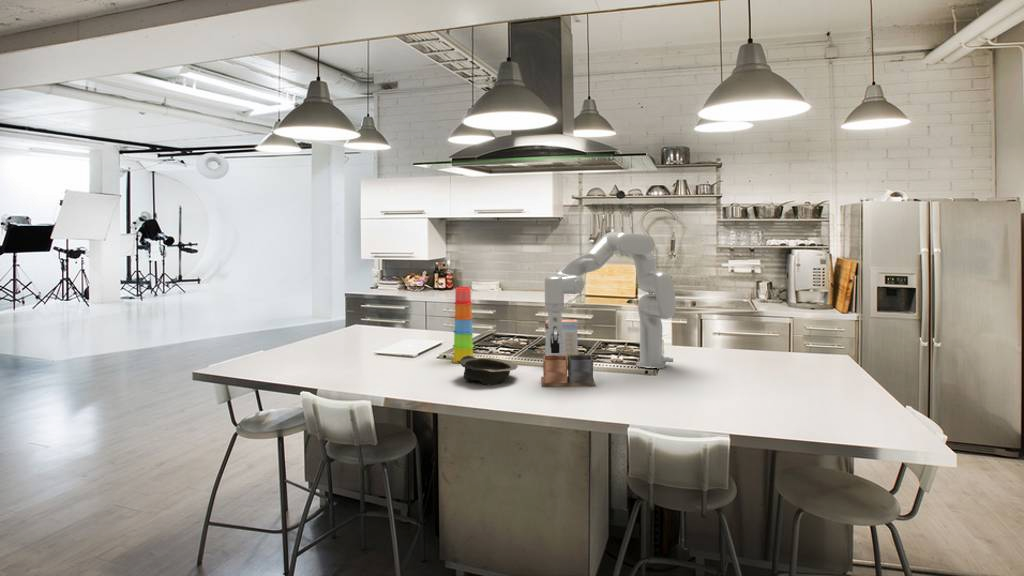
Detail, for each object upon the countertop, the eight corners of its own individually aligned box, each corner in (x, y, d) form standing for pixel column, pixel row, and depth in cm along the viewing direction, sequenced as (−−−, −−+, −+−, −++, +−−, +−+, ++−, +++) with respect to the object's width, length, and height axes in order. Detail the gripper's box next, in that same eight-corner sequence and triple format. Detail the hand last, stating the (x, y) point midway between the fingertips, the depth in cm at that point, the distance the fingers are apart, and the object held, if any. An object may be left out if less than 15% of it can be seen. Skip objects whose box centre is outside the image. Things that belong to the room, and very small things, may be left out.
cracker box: (577, 365, 271) (577, 319, 268) (577, 368, 265) (577, 321, 262) (546, 365, 272) (545, 319, 270) (545, 368, 266) (545, 321, 264)
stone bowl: (444, 381, 247) (445, 359, 246) (484, 373, 266) (485, 352, 266) (491, 390, 232) (491, 366, 231) (530, 381, 251) (530, 358, 251)
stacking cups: (476, 358, 287) (474, 285, 283) (472, 363, 277) (470, 288, 273) (454, 358, 288) (452, 286, 284) (450, 363, 278) (448, 288, 274)
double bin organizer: (592, 378, 248) (592, 354, 246) (595, 386, 237) (595, 360, 236) (541, 379, 248) (540, 354, 247) (541, 386, 237) (541, 361, 236)
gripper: (565, 310, 230) (565, 355, 232) (562, 304, 248) (563, 345, 250) (545, 311, 231) (545, 355, 233) (544, 304, 248) (544, 346, 250)
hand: (554, 350), depth 241 cm, fingers open, 9 cm apart
